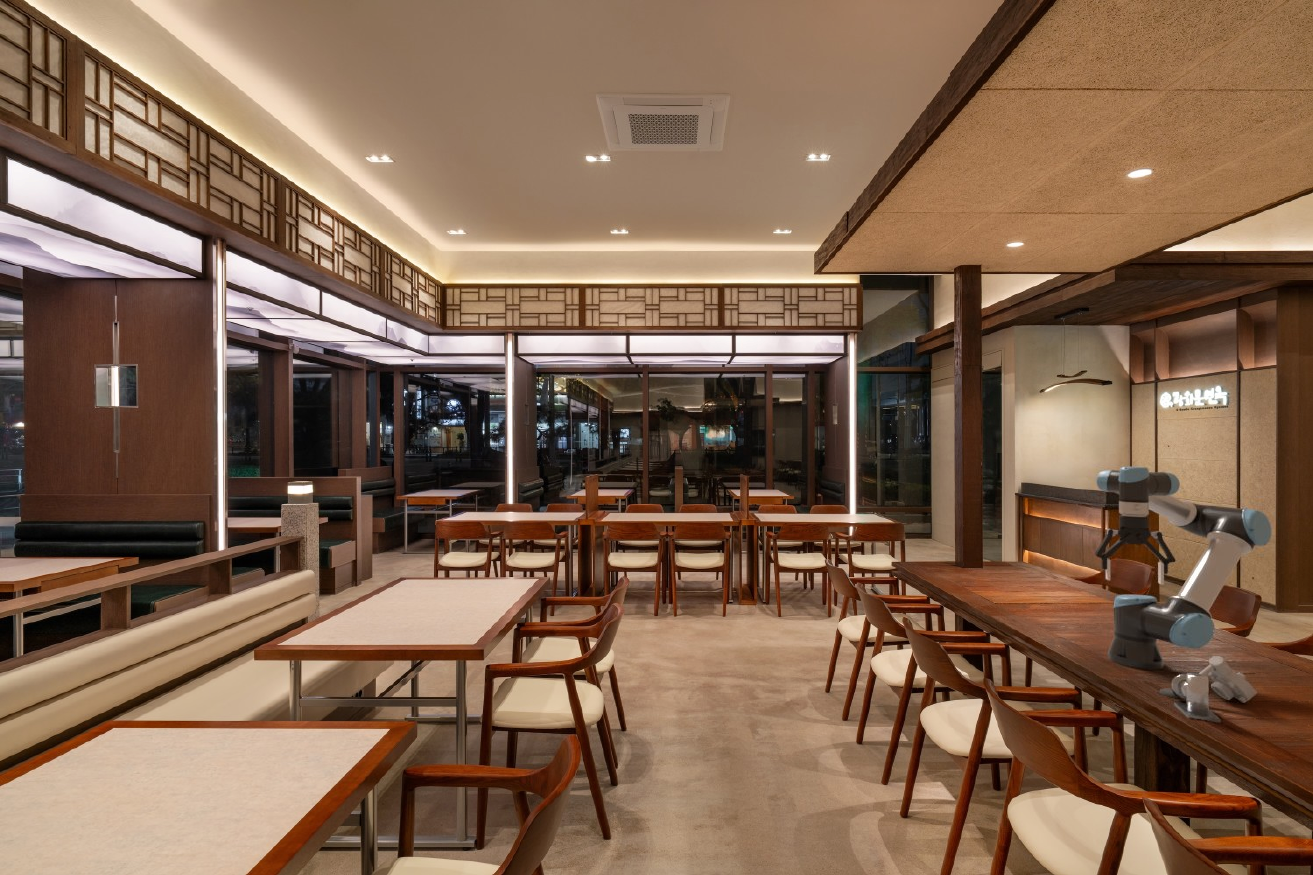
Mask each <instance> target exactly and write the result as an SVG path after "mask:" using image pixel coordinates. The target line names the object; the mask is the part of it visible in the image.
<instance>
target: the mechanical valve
mask: <svg viewBox="0 0 1313 875" xmlns="http://www.w3.org/2000/svg"><path fill="white" fill-rule="evenodd" d="M1208 663H1209V665H1207V666H1206V667H1204V668H1203V670H1201V671H1200V672H1199V673H1198V674H1202V675H1205V676H1207V677H1208V678H1211V680H1212V681H1213V682H1212V683H1211V684H1210V687H1211V689H1212V690H1213V691H1214V692H1215V693H1216V694H1217V695H1218V696H1219V697H1221V698H1223V699H1225V700H1227V701H1231V699H1233V698H1235V699H1237V700H1238V701H1239V702H1240V703H1243V704H1245V703H1246V702H1248V701H1249V700H1251V699H1253V697H1255V696H1256V695H1257V694H1258V692H1257V690H1256V689H1254V687H1253V686H1252V685H1251V683H1250V682H1249V681H1247V680H1246V678H1247V677H1246V675H1244V674H1243V673H1242V672H1236V671H1234V670H1233V669H1231V667H1230V665H1229V664H1228V663H1227V662H1226V661H1225V659H1224V658H1223V657H1222V656H1219V655H1213V656H1211V657H1210V658H1209V659H1208ZM1171 689H1172V688H1171ZM1172 691H1173V689H1172ZM1173 693H1174V695H1175V696H1177V697H1178V698H1180V699H1179V700H1185V699H1184V698H1181V697H1180V696H1178V695H1177V694H1176V693H1175V692H1174V691H1173Z"/></svg>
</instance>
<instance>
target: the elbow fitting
mask: <svg viewBox="0 0 1313 875" xmlns="http://www.w3.org/2000/svg"><path fill="white" fill-rule="evenodd" d="M1170 684H1171V689H1173V691H1174V692H1175V693H1176V694H1177V695H1178V696H1180V697H1181V698H1184V699H1183V700H1186V702H1180V701H1179V702H1178V701H1174V702H1173V705H1174V707H1176V708H1177V709H1178V710H1179V711H1180V712H1181V713H1182V714H1183V715H1184V716H1185V717H1186V718H1187V719H1190V718H1193V719H1192V720H1197V719H1201V720H1200V721H1205V720H1207V721H1206V722H1212V723H1221V722H1222V721H1221V718H1220V717H1219V716H1217V715H1216V714H1215V713H1214V712H1213V711H1212V710H1210V708H1209V698H1210V697H1209V691H1210V690H1209V686H1210V685H1209V684H1210V683H1209V676H1208V675H1207V676H1205V675H1202V674H1199V673H1198V672H1187V673H1181V674H1177V675H1175V676H1174V677H1173V678H1172V680H1171V683H1170Z"/></svg>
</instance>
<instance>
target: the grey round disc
mask: <svg viewBox="0 0 1313 875" xmlns="http://www.w3.org/2000/svg"><path fill="white" fill-rule="evenodd" d="M1159 693H1160V694H1161V695H1162V696H1165V697H1168V698H1172V699H1177V700H1178V699H1179V700H1181V699H1180V698H1178V697H1177V696H1175V695H1174V693H1173V691H1172V688H1159Z"/></svg>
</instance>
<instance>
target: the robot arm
mask: <svg viewBox="0 0 1313 875" xmlns="http://www.w3.org/2000/svg"><path fill="white" fill-rule="evenodd" d="M1095 481H1096V486H1097V487H1098V488H1099V489H1100V491H1103V492H1107V493H1115V494H1117V495H1118V496H1119V498H1118V513H1119V514H1120V515H1119V516H1118V525H1119V526H1118V529H1117V530H1116V529H1111V528H1107V529H1106V534H1105V536H1104V537H1103V539H1102V541H1101V543H1100V544H1099V546H1098V547H1097V549H1096V551H1095V552H1094V556H1095V557H1097V558H1099V559H1101V568H1102V570H1105V580H1107V581H1111V559H1109V558H1110V557H1111V556H1112V555H1113V554H1114V553H1116V552H1117V551H1118V550H1119V549H1120V548H1121V547H1122V546H1124V545H1125V544H1128V545H1130V546H1131V545H1138V546H1141V545H1144V546H1145V547H1146V548H1147V549H1148V550H1149V551H1150V552H1151V553H1152V554H1153V555H1154V556H1155V557H1156V558H1158V560H1159V561H1160V562H1159V561H1158V562H1157V566H1158V567H1157V571H1158V572H1157V575H1158V576H1157V579H1158V581H1157V583H1158V584H1159V585H1161V586H1164V585H1165V575H1167V574H1169V564H1170V563H1175V562H1176V561H1177V560H1176V558H1175V556H1174V555H1173V553H1172V552H1171V549H1169V546H1168V545H1167V544H1166V542H1165V540H1164V539H1163V538H1164V537H1163V533H1162V532H1161V531H1159V530H1155V531H1150V517H1148V515H1150V511H1152V512H1153V513H1156V514H1158V515H1159V516H1162V517H1164V518H1166V519H1167V521H1168V523H1170V524H1171V525H1174V526H1175V527H1177V528H1179V529H1182V530H1184V531H1186V532H1188V533H1190V534H1192V535H1193V534H1194V535H1196V536H1198V537H1200V538H1201V537H1202V538H1206V539H1207V540H1208V541H1209V542H1208V544H1207V545H1206V547H1205V549H1204V551H1203V552H1202V554H1201V556H1200V557H1199V559H1198V560H1197V562H1196V564H1195V565H1194V567H1193V569H1192V571H1191V572H1190V574H1189V575H1188V577H1187V578H1186V580H1185V582H1184V584H1183V585H1182V586H1181V588H1180V589H1179V591H1178V593H1177V595H1172V596H1169V597H1168V598H1167V600H1166V601H1165V603H1164V604H1162V603H1158V599H1157V597H1155V596H1153V595H1145V594H1119V595H1117V596H1115V597H1114V601H1113V602H1114V604H1113V627H1114V628H1113V629H1114V630H1113V639H1112V640H1111V643H1110V645H1109V648H1108V652H1107V657H1108V659H1109V660H1110V661H1111V662H1113V663H1116V664H1118V665H1121V666H1125V667H1128V668H1134V669H1138V670H1147V671H1148V670H1149V671H1150V670H1151V671H1155V670H1156V671H1157V670H1162V669H1163V668H1164V666H1165V665H1164V658H1163V656H1162V653H1161V650H1160V649H1159V648H1160V647H1159V646H1158V640H1159V641H1162V642H1166V643H1169V644H1172V645H1175V646H1177V647H1180V648H1186V649H1187V648H1188V649H1191V650H1197V649H1202V648H1204V647H1205V646H1207V645H1208V644H1209V643H1210V642H1211V641H1212V640H1213V637H1214V635H1215V632H1214V630H1215V623H1214V621H1213V619H1212V618H1213V616H1212V614H1211V612H1210V609H1211V607H1212V606H1213V604H1214V603H1215V601H1216V599H1217V597H1218V595H1219V594H1220V593H1221V591H1222V589H1223V588H1224V586H1225V584H1226V582H1227V581H1228V580H1229V579H1228V578H1229V577H1230V576H1231V574H1232V572H1233V571H1234V569H1235V567H1236V565H1237V564H1238V562H1239V561H1240V560H1241V557H1242V556H1243V555H1244V556H1245V555H1248V554H1251V553H1252V551H1253V550H1254V548H1255V546H1257V547H1263V546H1267V545H1268V544H1269V542H1270V541H1271V538H1272V526H1271V522H1270V519H1269V518H1268V517H1267V515H1266V514H1265V513H1264V512H1262V511H1260V510H1256V509H1250V508H1245V507H1244V508H1237V507H1230V506H1229V507H1228V506H1219V505H1218V506H1217V505H1209V504H1206V505H1205V504H1199V503H1193V502H1191V501H1189V500H1186V499H1182V500H1181V499H1179V498H1177V497H1175V496H1173V495H1175V494H1176V493H1177V492H1178V491H1179V490H1180V484H1181V483H1180V480H1179V478H1178V476H1177V475H1175V474H1173V473H1171V472H1165V471H1159V472H1157V471H1156V472H1153V471H1149V468H1148V467H1146V466H1121V467H1120V468H1119V470H1116V469H1109V470H1107V469H1105V470H1102V471H1100V472H1099V473H1098V474H1097V476H1096V479H1095ZM1116 535H1118V536H1119V538H1118V540H1116V542H1115V543H1114V544H1113V545H1111V547H1109V548H1108V549H1107V550H1106V548H1107V547H1108V545H1109V544H1110V542H1111V540H1112V538H1113V537H1115V536H1116ZM1151 536H1152V538H1153V539H1155V540H1156V542H1157V543H1158V544H1159V546H1160V548H1161V550H1162V551H1163V553H1164V555H1165V556H1166V558H1165V556H1164V555H1163V554H1162V553H1161V552H1160V551H1159V550H1158V549H1157V548H1155V547H1154V546H1153V544H1152V543H1151V542H1150V541H1149V540H1148V539H1149V538H1150V537H1151ZM1104 551H1105V552H1104Z"/></svg>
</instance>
